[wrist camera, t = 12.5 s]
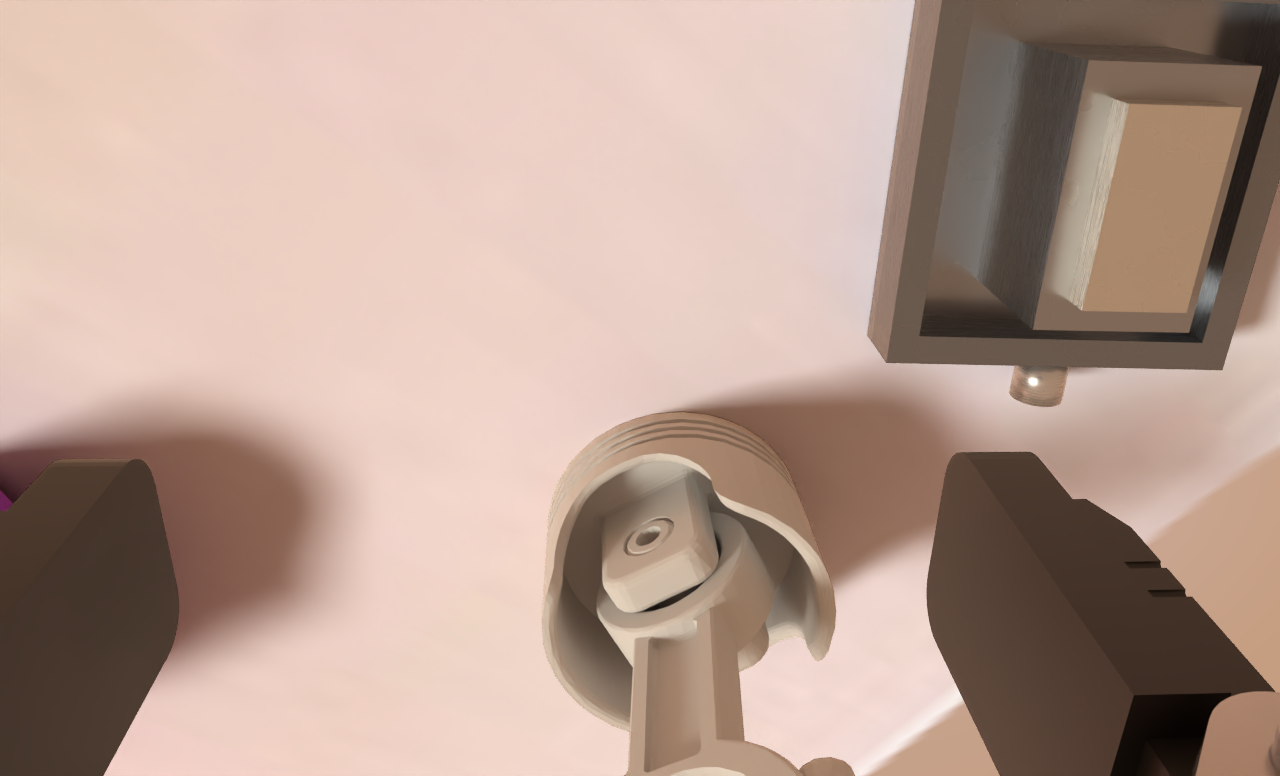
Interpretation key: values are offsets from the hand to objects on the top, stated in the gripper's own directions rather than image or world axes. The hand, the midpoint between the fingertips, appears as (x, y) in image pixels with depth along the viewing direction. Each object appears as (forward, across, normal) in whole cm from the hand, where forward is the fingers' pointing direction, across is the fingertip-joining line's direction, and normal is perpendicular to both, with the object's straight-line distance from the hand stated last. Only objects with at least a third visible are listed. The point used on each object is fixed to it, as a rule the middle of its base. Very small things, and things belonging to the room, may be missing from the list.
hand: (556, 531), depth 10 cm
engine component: (+25, -4, +17) cm, 31 cm away
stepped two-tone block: (+25, -17, +2) cm, 30 cm away
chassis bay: (+25, -17, +2) cm, 31 cm away
